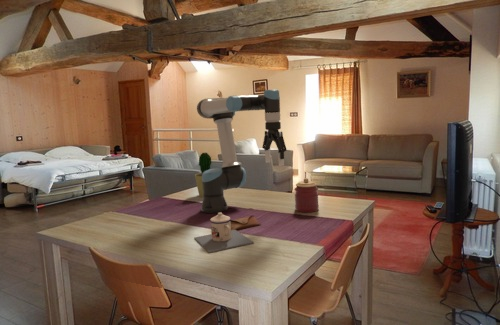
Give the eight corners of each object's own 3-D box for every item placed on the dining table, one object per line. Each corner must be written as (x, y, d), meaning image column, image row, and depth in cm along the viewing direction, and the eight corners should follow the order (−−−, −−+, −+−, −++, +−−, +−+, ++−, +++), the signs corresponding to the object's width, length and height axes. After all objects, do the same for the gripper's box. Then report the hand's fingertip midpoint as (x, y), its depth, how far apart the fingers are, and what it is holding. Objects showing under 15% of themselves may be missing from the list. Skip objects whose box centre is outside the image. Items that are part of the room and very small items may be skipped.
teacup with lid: (207, 238, 167) (205, 213, 165) (225, 233, 172) (223, 209, 171) (221, 245, 157) (219, 218, 156) (239, 240, 162) (237, 214, 161)
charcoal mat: (194, 238, 169) (194, 237, 169) (235, 230, 178) (235, 229, 178) (209, 253, 151) (209, 251, 151) (253, 243, 160) (253, 241, 160)
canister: (311, 205, 216) (311, 175, 213) (323, 210, 204) (322, 178, 201) (291, 208, 212) (290, 177, 209) (301, 214, 200) (300, 181, 197)
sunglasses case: (230, 232, 175) (226, 218, 177) (225, 236, 181) (221, 223, 183) (262, 224, 185) (258, 211, 187) (256, 228, 190) (252, 216, 192)
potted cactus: (209, 199, 245) (206, 153, 240) (191, 197, 253) (188, 152, 249) (223, 193, 257) (220, 150, 253) (206, 192, 266) (203, 150, 262)
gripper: (292, 121, 175) (294, 166, 178) (267, 120, 197) (269, 160, 200) (278, 122, 172) (280, 167, 175) (254, 121, 194) (256, 162, 197)
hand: (274, 164), depth 188 cm, fingers open, 13 cm apart
